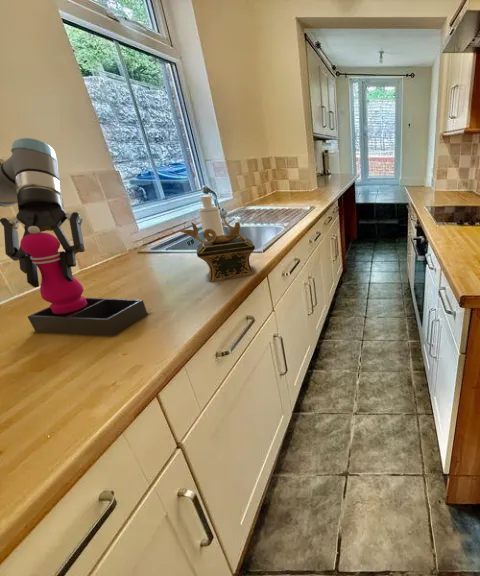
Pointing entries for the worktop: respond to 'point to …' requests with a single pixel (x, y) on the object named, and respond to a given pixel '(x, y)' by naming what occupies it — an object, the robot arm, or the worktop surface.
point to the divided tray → (91, 317)
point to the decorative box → (224, 252)
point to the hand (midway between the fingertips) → (51, 281)
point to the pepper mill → (52, 272)
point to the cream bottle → (210, 216)
